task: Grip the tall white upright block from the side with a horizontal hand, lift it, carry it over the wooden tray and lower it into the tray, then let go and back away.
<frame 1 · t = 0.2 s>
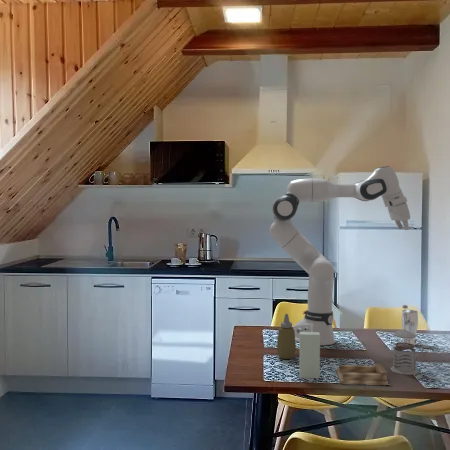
hand: (404, 229, 216), 52 cm above the table, tool tilted 20°, fingers open, 8 cm apart
wooden tray: (360, 378, 173), on the table
tall white upright block: (309, 376, 174), on the table
grey white tiered vessel: (406, 371, 181), on the table
squeeze bottle: (286, 357, 197), on the table
beer glass: (409, 344, 217), on the table
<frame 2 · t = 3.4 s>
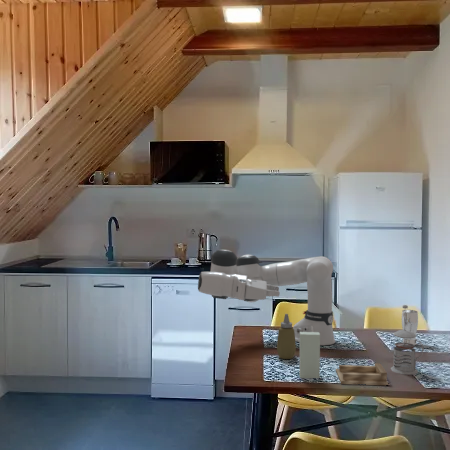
hand: (279, 291, 174), 31 cm above the table, tool horizontal, fingers open, 8 cm apart
nothing on the table moved.
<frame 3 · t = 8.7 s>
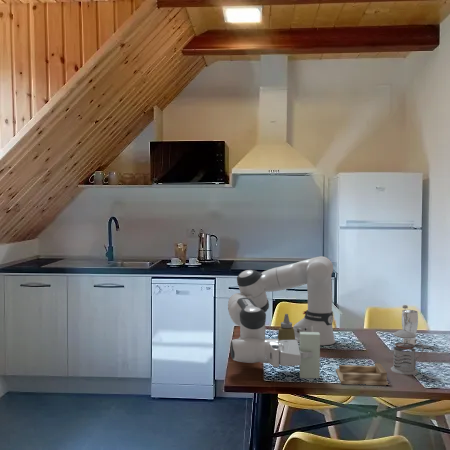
hand: (312, 352, 174), 9 cm above the table, tool horizontal, fingers closed on tall white upright block, 3 cm apart
tall white upright block: (309, 376, 174), on the table, touching gripper
everything else where it was.
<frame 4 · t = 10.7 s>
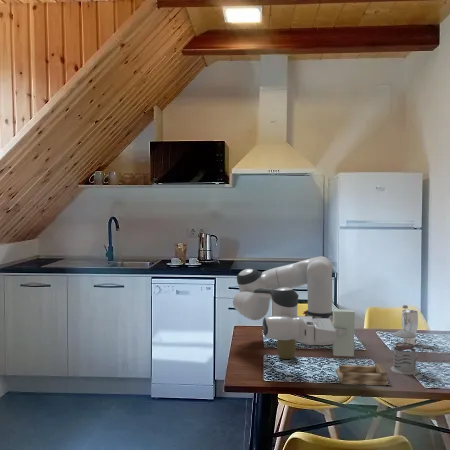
hand: (346, 329, 172), 18 cm above the table, tool horizontal, fingers closed on tall white upright block, 3 cm apart
tall white upright block: (343, 354, 172), point 9 cm above the table, touching gripper
everything else where it was.
when the fingers open (13 cm above the table, at t = 12.9 s): tall white upright block drops 3 cm, resting on wooden tray.
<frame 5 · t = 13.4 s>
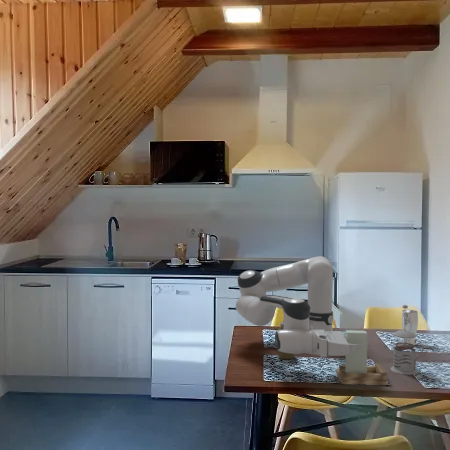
hand: (358, 342, 172), 13 cm above the table, tool horizontal, fingers open, 8 cm apart
tall white upright block: (355, 375, 172), point 1 cm above the table, touching wooden tray
squeeze bottle: (286, 358, 197), on the table, touching arm
everything else where it was.
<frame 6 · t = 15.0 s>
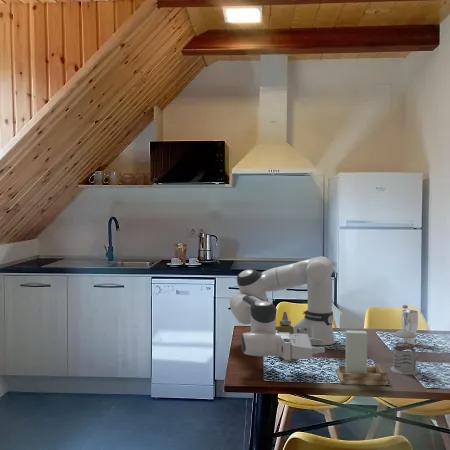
hand: (323, 345, 174), 11 cm above the table, tool horizontal, fingers open, 8 cm apart
squeeze bottle: (286, 356, 197), on the table
everything else where it was.
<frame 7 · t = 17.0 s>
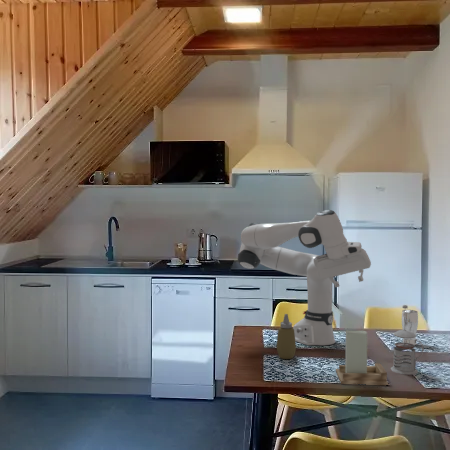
hand: (349, 283, 184), 32 cm above the table, tool tilted 20°, fingers open, 8 cm apart
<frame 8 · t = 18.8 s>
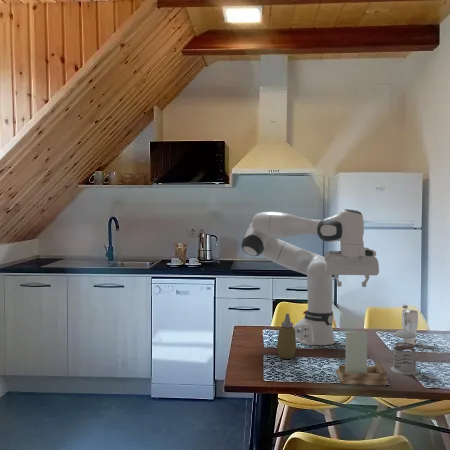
hand: (351, 286, 186), 31 cm above the table, tool pointing down, fingers open, 8 cm apart
at the end: tall white upright block inside the target area on the wooden tray (1.2 cm from its centre), point 1.0 cm above the wooden tray's base; tall white upright block tilted 0°; the gripper is holding nothing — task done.
